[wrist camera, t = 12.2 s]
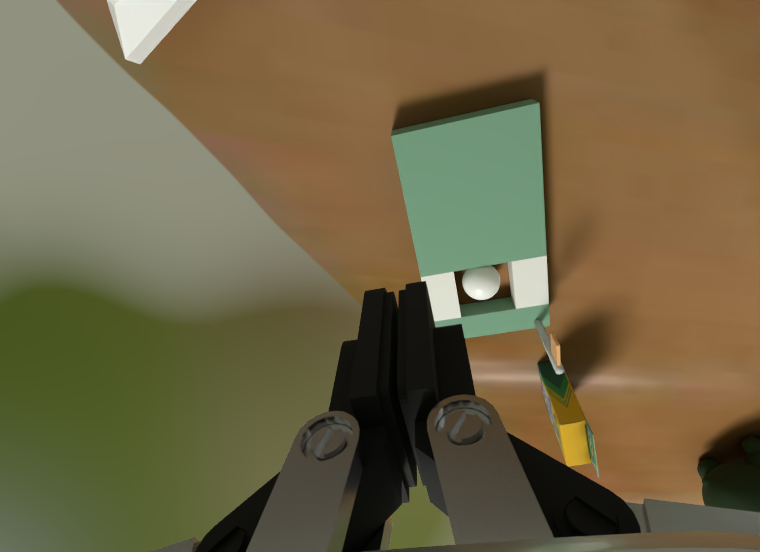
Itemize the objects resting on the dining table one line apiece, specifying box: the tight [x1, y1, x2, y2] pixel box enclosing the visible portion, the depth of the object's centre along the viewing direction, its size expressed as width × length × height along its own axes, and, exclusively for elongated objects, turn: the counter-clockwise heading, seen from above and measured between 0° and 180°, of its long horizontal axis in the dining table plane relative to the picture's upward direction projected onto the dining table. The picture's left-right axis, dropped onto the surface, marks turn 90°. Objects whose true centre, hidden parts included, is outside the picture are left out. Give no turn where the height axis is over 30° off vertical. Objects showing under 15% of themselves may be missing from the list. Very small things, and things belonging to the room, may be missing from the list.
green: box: [391, 99, 564, 374], centre depth 41 cm, size 13×24×10 cm, turn 13°
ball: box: [462, 265, 500, 300], centre depth 47 cm, size 4×4×4 cm
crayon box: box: [537, 361, 599, 477], centre depth 51 cm, size 7×3×12 cm, turn 19°
